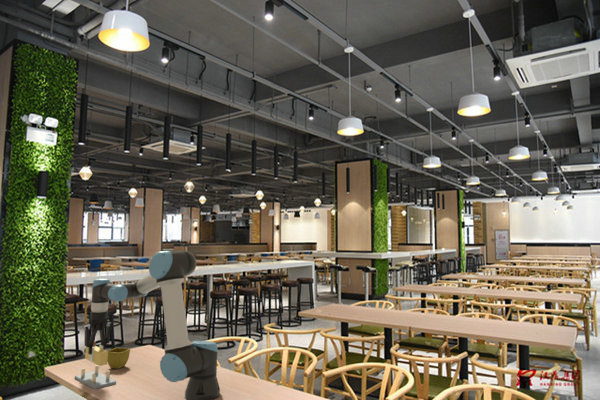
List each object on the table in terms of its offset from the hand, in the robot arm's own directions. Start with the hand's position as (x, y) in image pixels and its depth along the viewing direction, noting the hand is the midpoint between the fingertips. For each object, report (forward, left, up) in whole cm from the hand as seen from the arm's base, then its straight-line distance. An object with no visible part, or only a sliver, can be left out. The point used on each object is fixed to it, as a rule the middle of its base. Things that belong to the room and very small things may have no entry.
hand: (96, 360), depth 200 cm
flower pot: (+13, -18, -10) cm, 24 cm away
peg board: (0, 0, -10) cm, 10 cm away
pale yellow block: (0, 0, -1) cm, 1 cm away
